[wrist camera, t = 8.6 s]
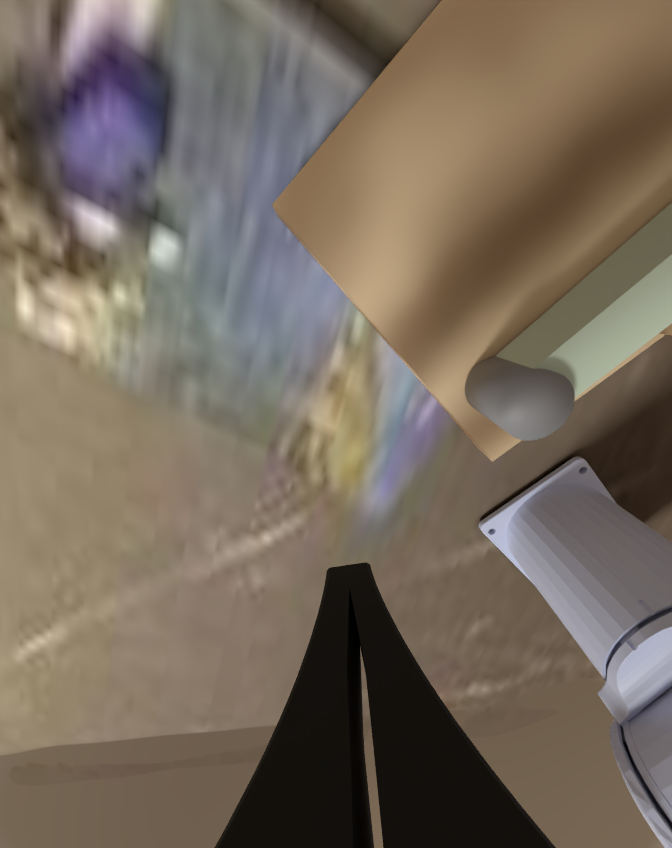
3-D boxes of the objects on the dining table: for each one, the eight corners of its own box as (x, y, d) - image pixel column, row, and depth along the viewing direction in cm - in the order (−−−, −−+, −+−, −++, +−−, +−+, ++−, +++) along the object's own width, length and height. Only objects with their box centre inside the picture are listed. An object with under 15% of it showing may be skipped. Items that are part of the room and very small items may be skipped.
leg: (486, 423, 17) (525, 453, 13) (453, 385, 16) (486, 408, 13) (766, 195, 13) (910, 162, 10) (743, 131, 12) (893, 71, 9)
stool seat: (754, 235, 16) (989, 201, 10) (476, 446, 20) (536, 504, 14) (614, -182, 11) (934, -707, 5) (278, 216, 15) (251, 167, 9)
